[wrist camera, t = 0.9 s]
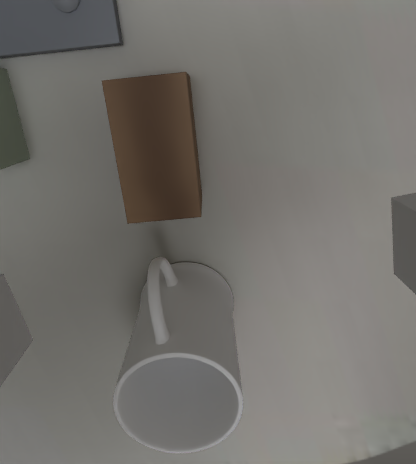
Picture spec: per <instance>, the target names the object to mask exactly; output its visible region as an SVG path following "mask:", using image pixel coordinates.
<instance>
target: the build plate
mask: <svg viewBox="0 0 416 464" xmlns="http://www.w3.org/2000/svg"><path fill="white" fill-rule="evenodd" d="M119 45H123V41H122V35H121V29H120V22H119V16H118V10H117V4H116V0H0V58H8V57H17V56H26V55H36V54H45V53H54V52H63V51H73V50H82V49H91V48H101V47H110V46H119Z"/></svg>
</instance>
